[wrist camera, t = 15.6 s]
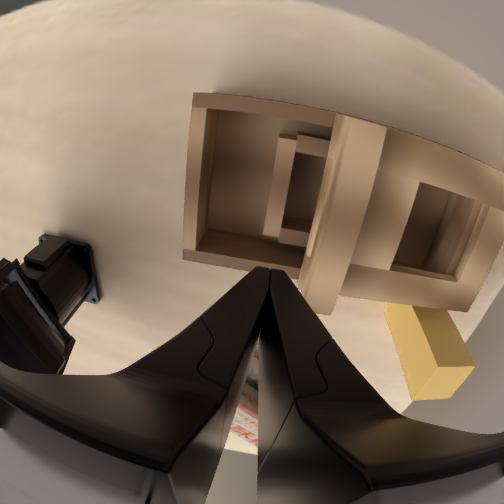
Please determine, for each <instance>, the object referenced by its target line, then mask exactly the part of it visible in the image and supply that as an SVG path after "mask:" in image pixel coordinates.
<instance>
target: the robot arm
mask: <svg viewBox="0 0 504 504" xmlns="http://www.w3.org/2000/svg"><path fill="white" fill-rule="evenodd" d="M85 249H86V250H87V251H86V250H85ZM19 264H20V263H19V261H18V259H17V258H16V259H15V260H14V261H13V262H10V261H8V260H7V259H5V258H3V259H2V260H1V261H0V504H204V503H205V501H206V498H207V495H208V493H209V489H210V487H211V484H212V481H213V478H214V475H215V473H216V469H217V466H218V464H219V461H220V458H221V455H222V452H223V449H224V446H225V443H226V440H227V437H228V434H229V431H230V428H231V425H232V422H233V419H234V416H235V413H236V410H237V406H238V403H239V400H240V397H241V394H242V391H243V388H244V384H245V381H246V378H247V375H248V372H249V368H250V365H251V362H252V359H253V355H254V352H255V349H256V345H257V342H258V338H259V381H258V470H257V471H258V474H257V504H504V432H501V433H497V434H477V433H470V432H465V431H460V430H454V429H450V428H446V427H441V426H437V425H432V424H429V423H424V422H420V421H416V420H413V419H410V418H407V417H405V416H402V415H401V414H399V413H398V412H396V411H395V410H394V409H393V408H392V407H391V406H390V405H389V404H388V403H387V402H386V401H385V400H384V399H383V398H382V397H381V396H380V395H379V393H378V392H377V391H376V390H375V389H374V388H373V387H372V386H371V385H370V383H369V382H368V381H367V380H366V379H365V378H364V377H363V376H362V375H361V373H360V372H359V371H358V370H357V369H356V368H355V366H354V365H353V364H352V363H351V362H350V361H349V359H348V358H347V357H346V355H345V354H344V353H343V351H342V350H341V349H340V347H339V346H338V345H337V343H336V342H335V340H334V339H332V336H331V335H330V333H329V332H328V331H327V329H326V328H325V326H324V325H323V324H322V322H321V321H320V319H319V318H318V317H317V315H316V314H315V312H314V311H313V310H312V308H311V307H310V305H309V304H308V303H307V301H306V300H305V298H304V297H303V296H302V294H301V293H300V292H299V290H298V289H297V287H296V286H295V285H294V283H293V282H292V280H291V279H290V278H289V276H288V275H287V274H286V272H285V271H284V270H279V269H271V270H270V269H269V268H267V267H261V266H256V267H255V268H254V269H253V270H251V271H250V272H249V273H248V274H247V275H246V276H245V277H244V278H242V279H241V280H240V281H239V282H238V283H237V284H236V285H235V286H233V287H232V288H231V289H230V290H229V291H228V292H227V293H226V294H224V295H223V296H222V297H221V298H220V299H219V300H218V301H217V302H215V303H214V304H213V305H212V306H211V307H210V308H209V309H207V310H206V311H205V312H204V313H203V314H202V315H201V316H200V317H199V318H197V319H196V320H195V321H194V322H192V323H191V324H190V325H189V326H188V327H186V328H185V329H184V330H183V331H181V332H180V333H179V334H178V335H176V336H175V337H173V338H172V339H170V340H169V341H168V342H166V343H165V344H163V345H162V346H160V347H158V348H157V349H155V350H154V351H152V352H151V353H149V354H148V355H146V356H144V357H143V358H141V359H140V360H138V361H137V362H135V363H133V364H132V365H130V366H128V367H127V368H125V369H123V370H121V371H118V372H116V373H113V374H108V375H62V374H63V372H64V370H65V367H66V364H67V362H68V359H69V356H70V354H71V351H72V349H73V346H74V344H75V341H76V340H75V339H74V338H73V337H72V336H70V334H69V333H68V332H67V331H66V330H65V328H64V326H65V325H66V324H67V322H68V321H69V320H70V318H71V317H72V316H73V315H74V313H75V312H76V311H77V309H78V308H79V307H80V306H81V304H82V303H83V302H84V301H86V302H90V303H93V304H98V302H99V301H100V296H99V291H98V286H97V281H96V275H95V269H94V263H93V256H92V250H91V247H90V246H89V245H88V244H85V243H80V242H75V241H71V240H68V239H64V238H60V237H55V236H47V235H41V236H40V237H39V245H37V246H36V247H35V248H34V249H33V250H31V251H30V252H29V253H28V254H27V255H25V257H24V262H23V263H22V264H21V265H19ZM259 333H260V334H259Z"/></svg>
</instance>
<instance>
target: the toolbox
mask: <svg viewBox="0 0 504 504" xmlns="http://www.w3.org/2000/svg"><path fill="white" fill-rule="evenodd" d="M336 113H337V112H332V111H328V110H323V109H319V108H314V107H309V106H304V105H298V104H293V103H287V102H281V101H275V100H268V99H261V98H254V97H246V96H237V95H227V94H216V93H193V102H192V111H191V121H190V132H189V143H188V155H187V169H186V185H185V203H184V226H183V260H188V261H194V262H199V263H205V264H210V265H216V266H222V267H227V268H233V269H239V270H245V271H251V270H253V269H254V268H255V267H256V266H261V267H267V268H269V269H270V270H271V269H279V270H284V271H285V272H286V274H287V275H288V276H289V278H292V279H299V275H300V271H301V267H302V263H303V259H304V255H305V252H306V248H307V244H308V239H309V235H310V231H311V227H312V223H313V219H314V214H315V210H316V206H317V202H318V197H319V193H320V188H321V184H322V179H323V175H324V170H325V165H326V160H327V156H328V151H329V146H330V141H331V136H332V131H333V126H334V120H335V115H336ZM338 114H341V113H338ZM342 115H345V114H342ZM346 116H349V115H346ZM350 117H353V116H350ZM354 118H357V117H354ZM358 119H361V118H358ZM362 120H364V119H362ZM366 121H368V120H366ZM369 122H372V121H369ZM373 123H375V122H373ZM376 124H379V123H376ZM380 125H382V124H380ZM383 126H386V125H383ZM387 127H389V126H387ZM390 128H392V127H390ZM393 129H395V128H393ZM396 130H399V129H396ZM400 131H402V130H400ZM403 132H405V131H403ZM406 133H408V132H406ZM409 134H411V133H409ZM412 135H414V134H412ZM415 136H417V135H415ZM418 137H419V136H418ZM420 138H422V137H420ZM423 139H425V138H423ZM426 140H428V139H426ZM429 141H431V140H429ZM432 142H433V141H432ZM434 143H436V142H434ZM437 144H439V143H437ZM440 145H441V144H440ZM442 146H444V145H442ZM445 147H446V146H445ZM447 148H449V147H447ZM450 149H451V148H450ZM452 150H454V149H452ZM455 151H456V150H455ZM457 152H459V151H457ZM460 153H461V152H460ZM462 154H463V153H462ZM464 155H466V154H464ZM467 156H468V155H467ZM469 157H470V156H469ZM471 158H472V157H471ZM474 159H475V158H474ZM476 160H477V159H476ZM478 161H479V160H478ZM480 162H481V161H480ZM482 163H483V162H482ZM482 204H483V203H481V202H479V201H476V200H473V199H471V198H468V197H465V196H462V195H460V194H457V193H454V192H451V191H448V190H445V189H442V188H439V187H436V186H433V185H430V184H426V183H423V182H420V183H419V186H418V190H417V193H416V196H415V199H414V203H413V206H412V209H411V212H410V215H409V218H408V221H407V224H406V227H405V230H404V232H403V235H402V238H401V241H400V243H399V246H398V249H397V251H396V254H395V257H394V259H393V262H392V265H398V266H403V267H408V268H414V269H419V270H424V271H430V272H435V273H440V274H446V275H451V276H453V275H454V273H455V271H456V269H457V266H458V264H459V262H460V260H461V258H462V255H463V253H464V251H465V248H466V246H467V244H468V241H469V239H470V236H471V234H472V231H473V229H474V226H475V223H476V221H477V218H478V215H479V213H480V210H481V207H482Z"/></svg>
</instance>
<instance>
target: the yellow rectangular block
mask: <svg viewBox="0 0 504 504" xmlns="http://www.w3.org/2000/svg"><path fill="white" fill-rule="evenodd" d="M385 317H386V320H387V323H388V325H389V328H390V331H391V334H392V337H393V340H394V343H395V346H396V350H397V353H398V356H399V359H400V362H401V366H402V369H403V372H404V376H405V379H406V383H407V386H408V390H409V393H410V397H411V400H430V399H445V398H450V397H451V395H452V394H453V393H454V392H455V391H456V390H457V389H458V387H459V386H460V385H461V384H462V383H463V381H464V380H465V379H466V378H467V377H468V375H469V374H470V373H471V372H472V370H473V369H474V368H475V367H476V366H475V364H474V361H473V359H472V357H471V355H470V353H469V351H468V349H467V347H466V345H465V343H464V341H463V339H462V337H461V335H460V333H459V331H458V330H457V328H456V326H455V324H454V322H453V320H452V319H451V317H450V315H449V313H448V311H447V310H444V309H436V308H428V307H420V306H412V305H405V304H397V303H389V305H388V307H387V310H386V312H385Z"/></svg>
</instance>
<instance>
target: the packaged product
mask: <svg viewBox="0 0 504 504" xmlns="http://www.w3.org/2000/svg"><path fill="white" fill-rule="evenodd" d="M258 381H259V359H258V358H256V357H255V356H254V355H253V359H252V362H251V365H250V368H249V372H248V375H247V378H246V381H245V384H244V388H243V391H242V394H241V397H240V400H239V403H238V406H237V410H236V413H235V416H234V419H233V422H232V425H231V428H230V432H232V433H234V434H235V435H237V436H238V437H240V438H242V439H244V440H246V441H247V442H249V443H251V444H252V445H254V446H256V447H257V448H258Z"/></svg>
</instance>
